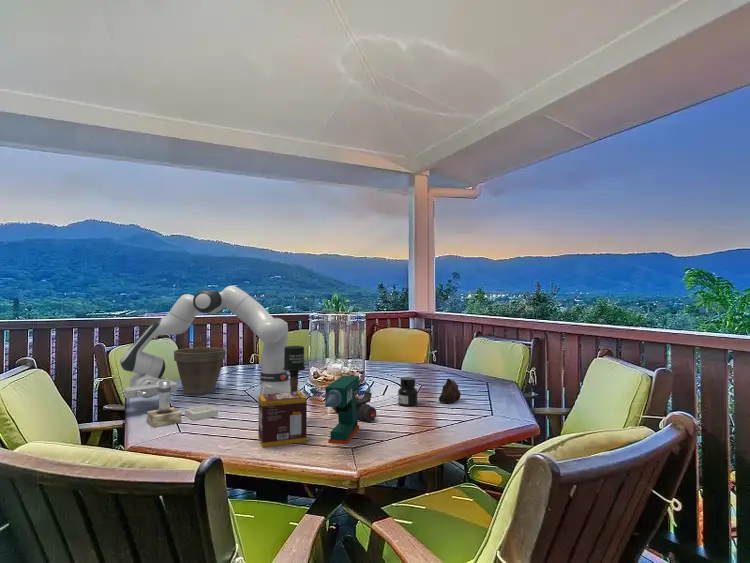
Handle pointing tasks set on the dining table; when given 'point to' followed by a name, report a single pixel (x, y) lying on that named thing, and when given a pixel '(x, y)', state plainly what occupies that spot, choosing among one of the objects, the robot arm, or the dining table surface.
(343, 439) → the power tool
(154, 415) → the socket block
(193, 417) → the tray
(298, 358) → the stick grenade
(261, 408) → the supplement box
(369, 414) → the laser sight
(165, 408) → the collared metal peg
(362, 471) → the dining table surface
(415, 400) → the ink bottle
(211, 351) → the plant pot
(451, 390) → the decorative rock
